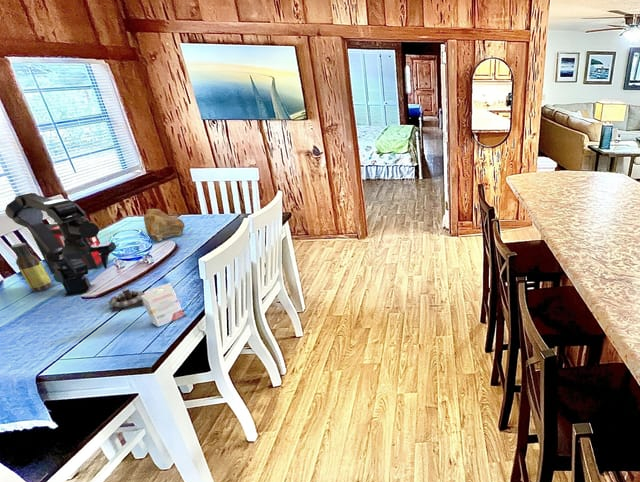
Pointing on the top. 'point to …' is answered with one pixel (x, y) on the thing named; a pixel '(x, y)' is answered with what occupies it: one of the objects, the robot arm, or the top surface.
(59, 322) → the top surface
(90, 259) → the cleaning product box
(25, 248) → the sauce bottle
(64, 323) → the top surface
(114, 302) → the grey-brown segmented ring
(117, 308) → the tape stand
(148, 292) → the ink cartridge box
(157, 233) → the rough brown rock
